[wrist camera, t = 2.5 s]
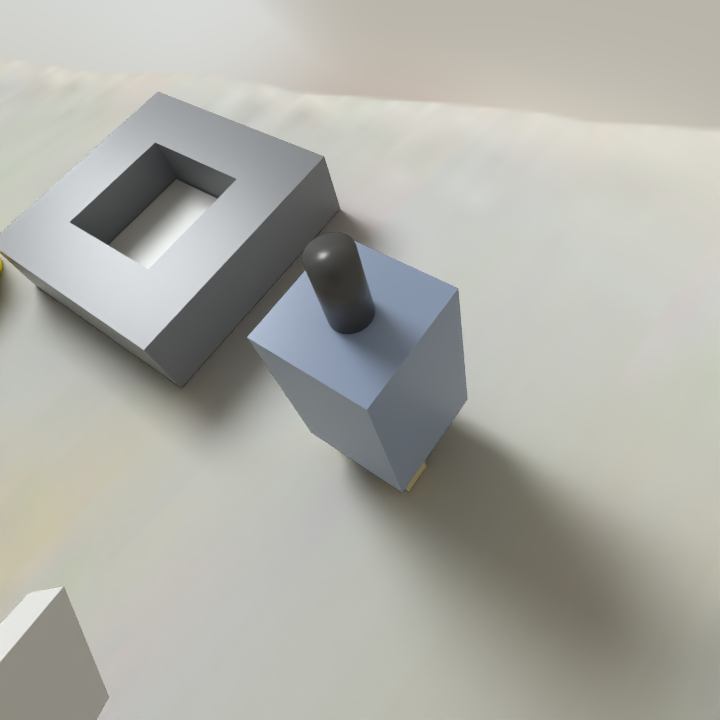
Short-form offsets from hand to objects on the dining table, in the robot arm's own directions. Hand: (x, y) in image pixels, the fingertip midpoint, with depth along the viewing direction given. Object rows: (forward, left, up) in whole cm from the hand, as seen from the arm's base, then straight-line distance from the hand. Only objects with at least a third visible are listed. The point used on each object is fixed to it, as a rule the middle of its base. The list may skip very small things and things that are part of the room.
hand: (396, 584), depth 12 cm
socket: (-25, +9, -14) cm, 30 cm away
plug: (-7, +6, -14) cm, 16 cm away
